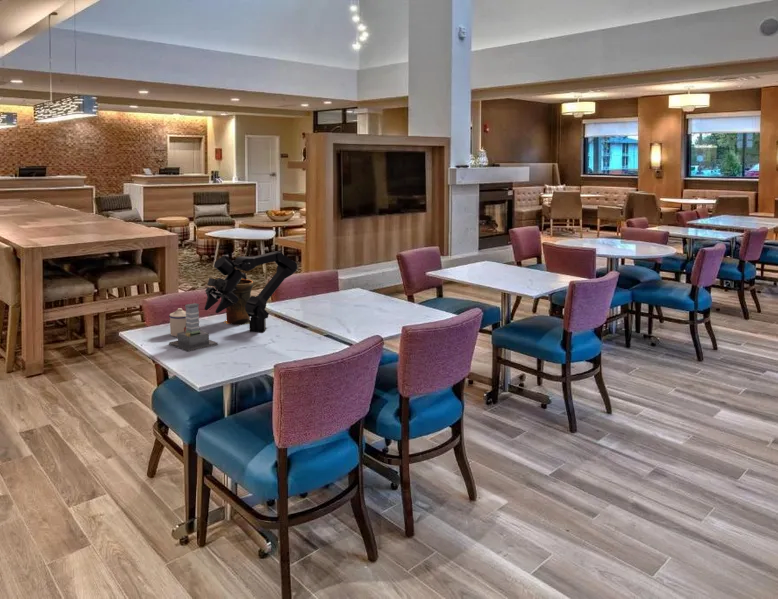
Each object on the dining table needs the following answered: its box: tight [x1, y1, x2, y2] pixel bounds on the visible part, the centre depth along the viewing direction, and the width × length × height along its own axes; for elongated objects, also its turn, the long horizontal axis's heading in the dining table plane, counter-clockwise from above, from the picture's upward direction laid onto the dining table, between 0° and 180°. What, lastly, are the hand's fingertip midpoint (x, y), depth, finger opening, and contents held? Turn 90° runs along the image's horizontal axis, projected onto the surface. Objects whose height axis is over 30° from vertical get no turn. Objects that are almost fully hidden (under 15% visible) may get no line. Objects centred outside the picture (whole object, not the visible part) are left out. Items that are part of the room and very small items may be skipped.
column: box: [184, 302, 201, 334], centre depth 259 cm, size 5×4×12 cm
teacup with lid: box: [169, 307, 187, 338], centre depth 277 cm, size 12×9×12 cm
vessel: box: [223, 278, 254, 326], centre depth 299 cm, size 14×14×20 cm
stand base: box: [168, 330, 219, 353], centre depth 261 cm, size 14×14×6 cm
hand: (210, 311), depth 266 cm, fingers open, 9 cm apart
